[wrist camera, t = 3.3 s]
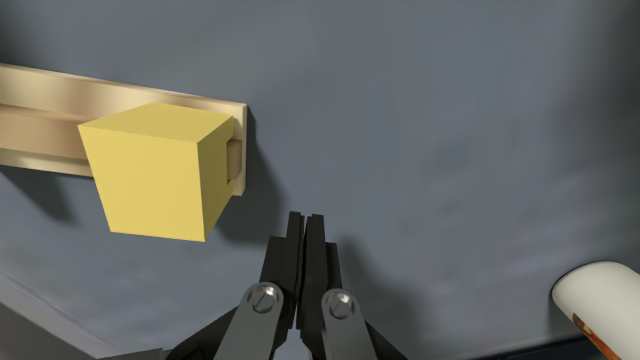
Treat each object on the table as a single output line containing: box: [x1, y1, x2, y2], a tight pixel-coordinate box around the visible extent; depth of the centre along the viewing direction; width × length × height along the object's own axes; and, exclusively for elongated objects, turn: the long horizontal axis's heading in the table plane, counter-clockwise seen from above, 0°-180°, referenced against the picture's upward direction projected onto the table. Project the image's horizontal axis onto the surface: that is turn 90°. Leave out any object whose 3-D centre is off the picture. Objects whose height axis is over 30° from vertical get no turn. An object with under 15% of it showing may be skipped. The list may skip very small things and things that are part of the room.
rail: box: [0, 63, 247, 196], centre depth 15 cm, size 20×7×6 cm, turn 80°
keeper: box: [77, 102, 234, 242], centre depth 14 cm, size 5×6×6 cm
